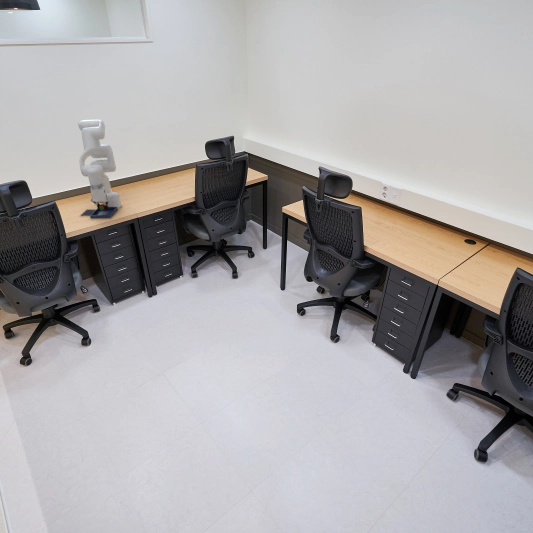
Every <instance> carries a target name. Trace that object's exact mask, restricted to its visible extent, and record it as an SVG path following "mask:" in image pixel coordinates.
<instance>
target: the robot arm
mask: <svg viewBox="0 0 533 533" xmlns="http://www.w3.org/2000/svg"><path fill="white" fill-rule="evenodd" d="M77 126H78V128H79V130H80V132H81V134H80V135H81V140H82V145H83V151H82V153H81V155H80V156H79V168H80V173H81V175H82V176H83V177H86V178H88V182H89V185H90V196H91V199H90V202H92V203H93V204H94V205H95V206H96V209H97V208H98V210H100V209H99V206H100V205H101V203H102V204H104V208H105V211H106V210H107V209H108V206H107V204H108V203H109V202H110V201H111V200H110V199H109V198H108V195H107V193H110V192H114V191H113V190H112V186H111V182H110V178H109V176H108V175H107V174H106V173H114V172H116V170H117V167H116V161H115V156H114V152H113V148H112V146H111V145H109V144H106V143H105V144H101V142H100V140H104V139H105V137H106V134H105V133H106V126H105V121H103V120H102V119H84V120H80V121H78V123H77ZM89 157H91V158H93V159H96V160H92V161H91V162H90V164H87V165H85V161H86V160H87V159H88V158H89ZM105 158H106V159H105ZM106 200H108V201H106Z"/></svg>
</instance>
